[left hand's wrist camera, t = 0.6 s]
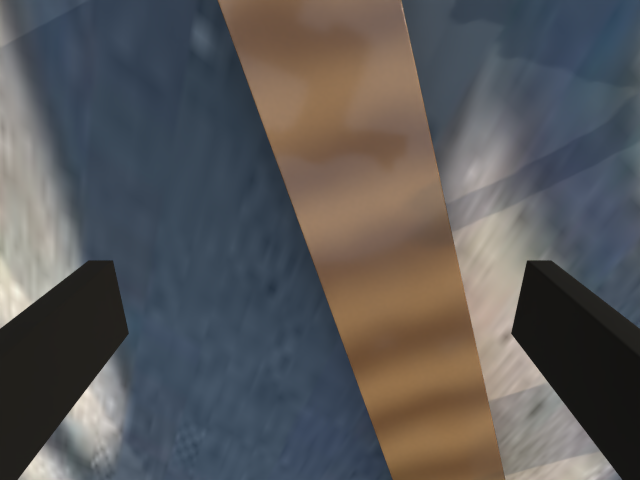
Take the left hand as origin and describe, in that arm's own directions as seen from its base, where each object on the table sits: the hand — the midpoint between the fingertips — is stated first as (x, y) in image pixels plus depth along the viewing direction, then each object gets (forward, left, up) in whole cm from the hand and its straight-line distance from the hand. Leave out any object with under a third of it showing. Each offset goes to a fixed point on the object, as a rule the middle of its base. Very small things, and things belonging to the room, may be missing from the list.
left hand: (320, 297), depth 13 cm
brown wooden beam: (+9, +10, -21) cm, 25 cm away
